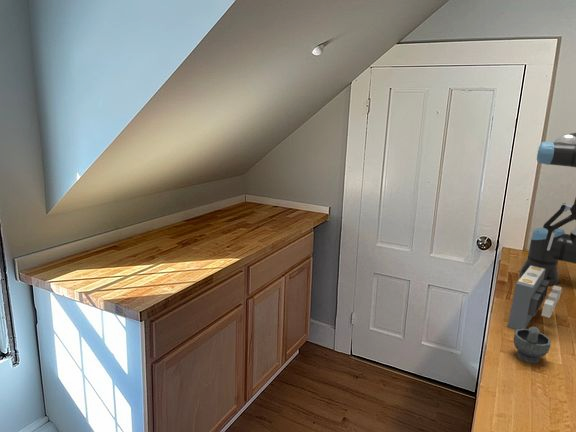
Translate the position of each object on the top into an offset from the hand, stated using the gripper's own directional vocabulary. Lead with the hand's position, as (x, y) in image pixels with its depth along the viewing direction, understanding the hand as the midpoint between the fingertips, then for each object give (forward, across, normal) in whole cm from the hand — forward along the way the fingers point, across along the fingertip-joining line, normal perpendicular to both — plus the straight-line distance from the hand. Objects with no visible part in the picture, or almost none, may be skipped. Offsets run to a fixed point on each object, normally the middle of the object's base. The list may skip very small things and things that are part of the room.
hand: (571, 255), depth 143 cm
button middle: (+19, -1, -2) cm, 20 cm away
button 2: (+20, -1, +6) cm, 21 cm away
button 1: (+19, -2, -10) cm, 21 cm away
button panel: (+27, -8, -2) cm, 28 cm away
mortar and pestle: (+23, -3, -32) cm, 39 cm away
